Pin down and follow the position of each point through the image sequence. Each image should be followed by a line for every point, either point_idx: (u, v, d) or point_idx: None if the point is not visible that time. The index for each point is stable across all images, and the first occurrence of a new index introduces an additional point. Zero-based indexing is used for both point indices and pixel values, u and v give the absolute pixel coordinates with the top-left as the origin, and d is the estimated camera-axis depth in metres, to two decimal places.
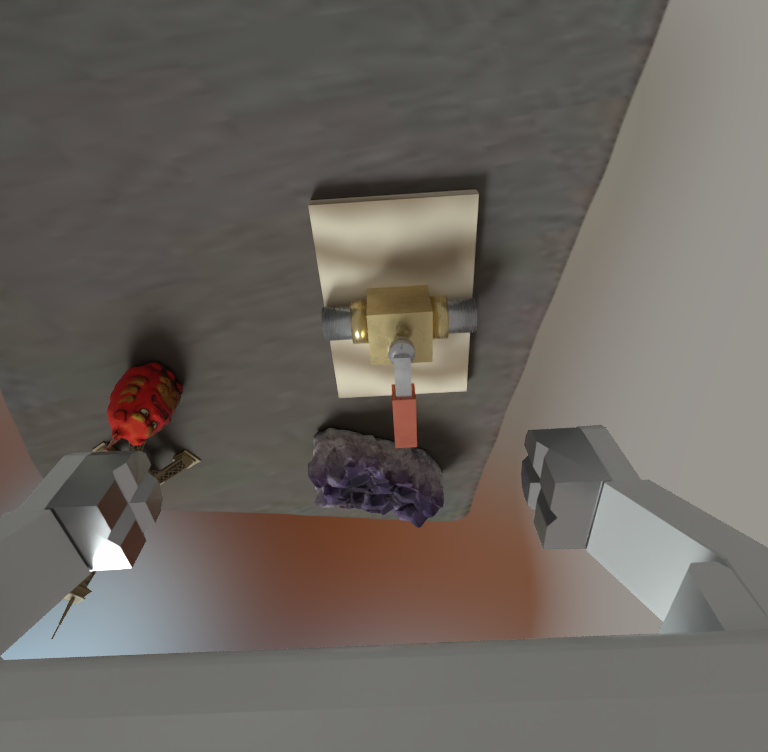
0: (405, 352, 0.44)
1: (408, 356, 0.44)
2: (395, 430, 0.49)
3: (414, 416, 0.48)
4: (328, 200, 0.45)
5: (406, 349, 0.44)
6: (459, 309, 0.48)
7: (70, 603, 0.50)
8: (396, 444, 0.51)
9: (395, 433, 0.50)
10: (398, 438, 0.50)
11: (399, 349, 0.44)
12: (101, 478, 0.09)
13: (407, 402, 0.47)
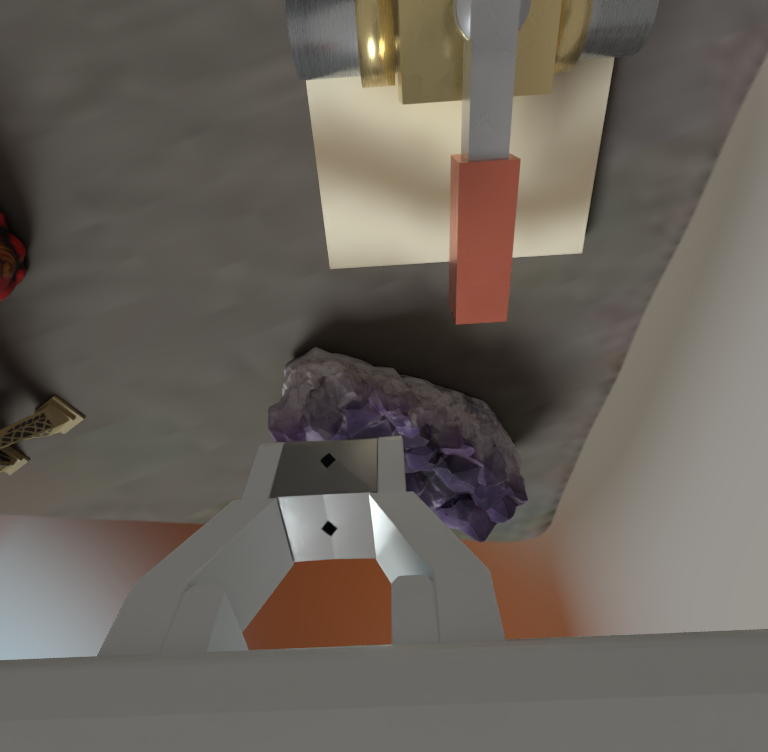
0: None
1: None
2: (460, 267, 0.20)
3: (510, 221, 0.19)
4: None
5: None
6: None
7: None
8: (459, 312, 0.22)
9: (459, 277, 0.21)
10: (465, 294, 0.21)
11: None
12: (312, 467, 0.09)
13: (497, 170, 0.18)
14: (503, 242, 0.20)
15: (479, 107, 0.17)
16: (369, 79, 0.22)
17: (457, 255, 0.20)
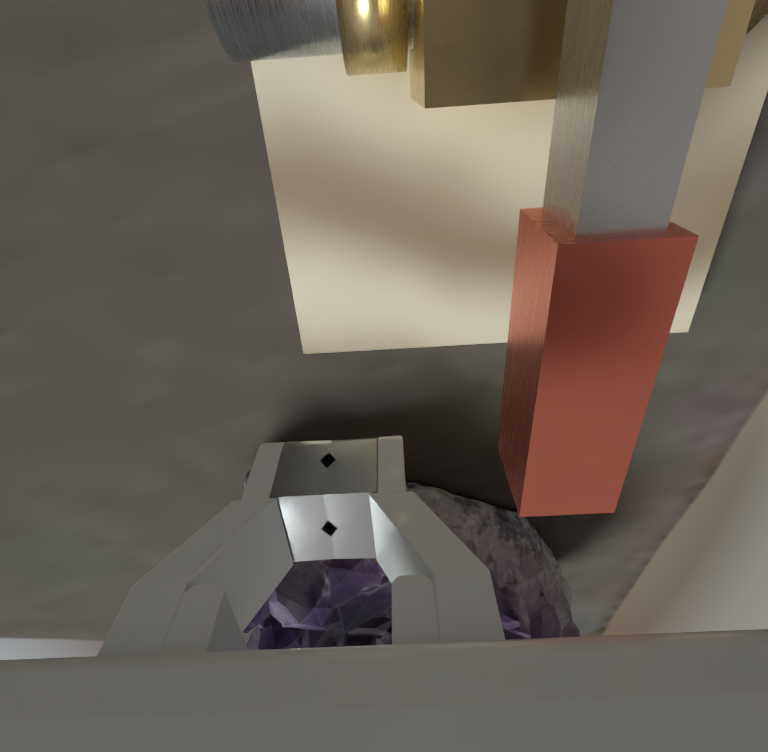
0: None
1: None
2: (537, 433, 0.10)
3: (652, 355, 0.09)
4: None
5: None
6: None
7: None
8: (528, 500, 0.11)
9: (534, 449, 0.11)
10: (542, 473, 0.11)
11: None
12: (312, 467, 0.09)
13: (642, 260, 0.08)
14: (631, 392, 0.10)
15: (617, 119, 0.07)
16: (359, 59, 0.12)
17: (534, 412, 0.10)
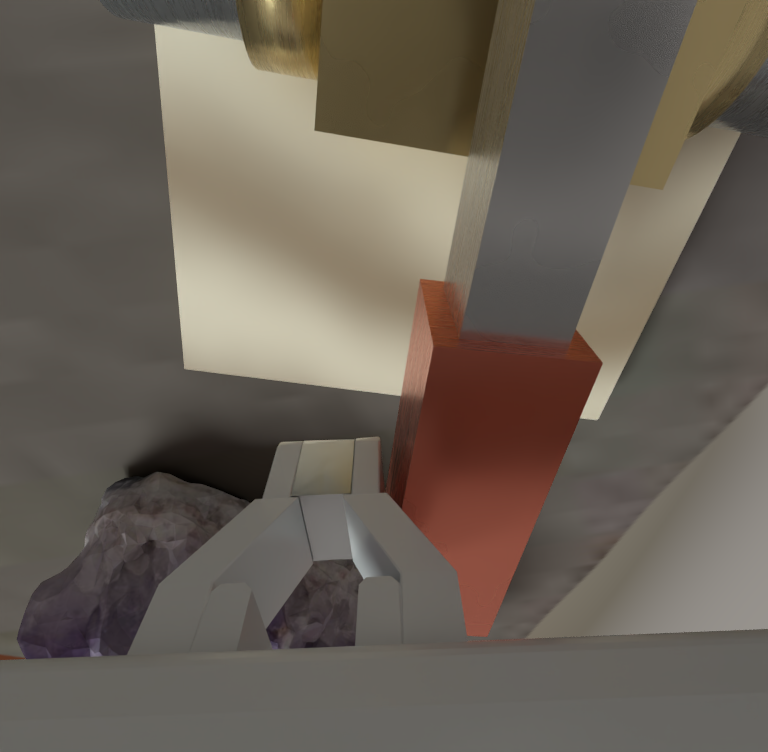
0: None
1: None
2: None
3: (540, 483, 0.08)
4: None
5: None
6: None
7: None
8: None
9: None
10: None
11: None
12: (332, 466, 0.09)
13: (535, 379, 0.07)
14: (512, 519, 0.08)
15: (518, 208, 0.06)
16: (265, 53, 0.10)
17: None
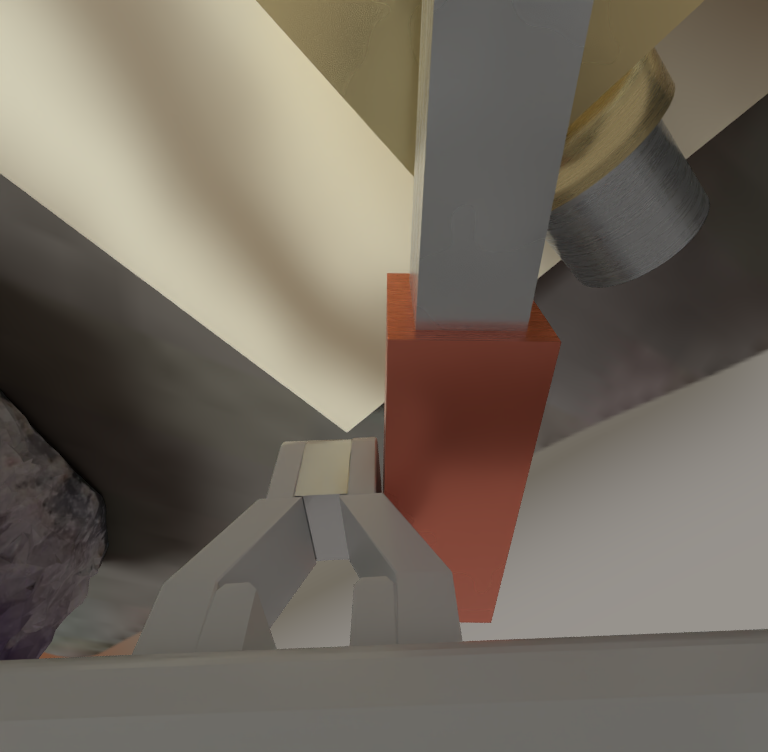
0: None
1: None
2: None
3: (517, 467, 0.08)
4: None
5: None
6: (674, 151, 0.11)
7: None
8: None
9: None
10: None
11: None
12: (336, 466, 0.09)
13: (494, 364, 0.07)
14: (496, 504, 0.08)
15: (452, 195, 0.06)
16: None
17: None
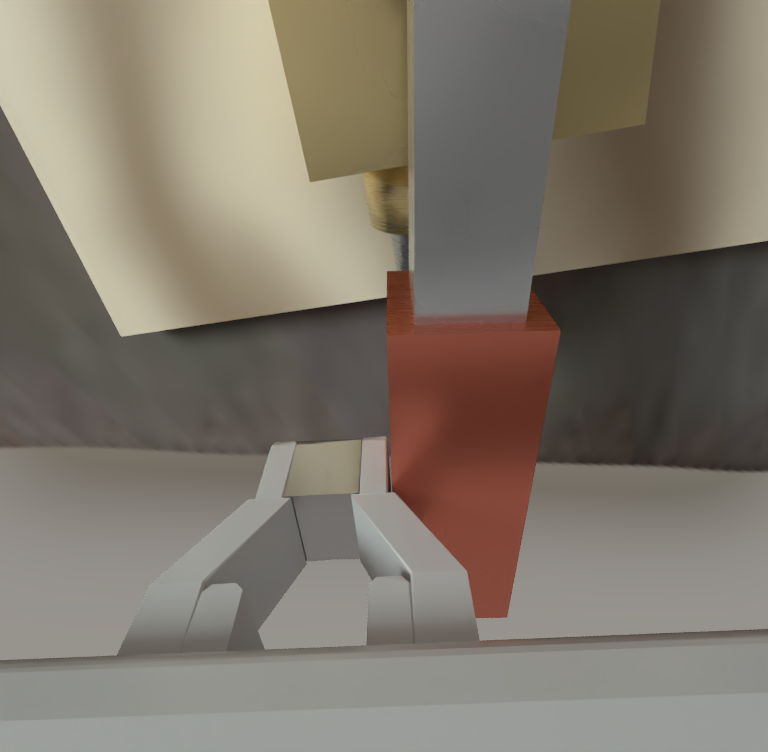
0: None
1: None
2: None
3: (524, 459, 0.08)
4: None
5: None
6: None
7: None
8: None
9: None
10: None
11: None
12: (326, 467, 0.09)
13: (495, 355, 0.07)
14: (504, 497, 0.08)
15: (443, 189, 0.06)
16: None
17: None
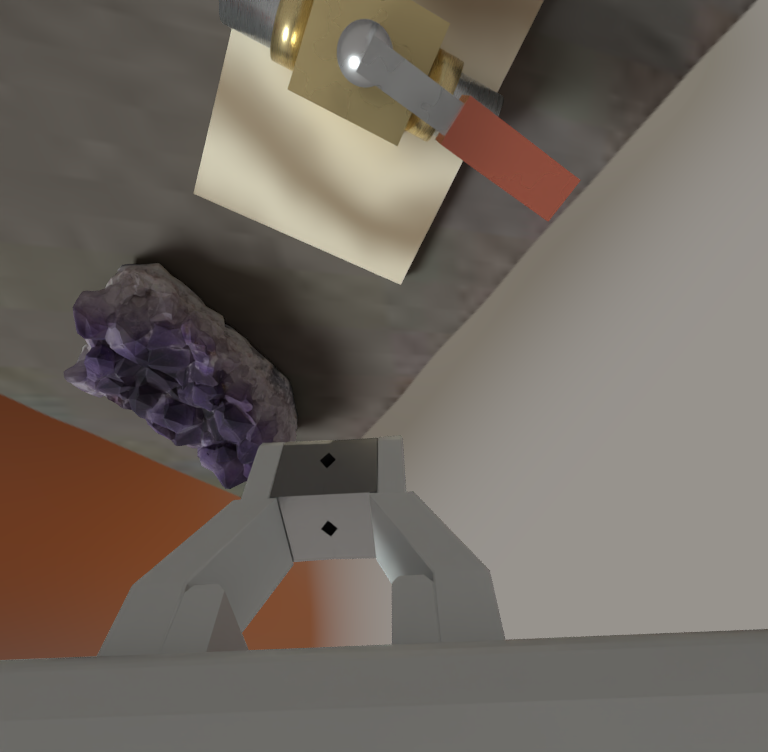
0: (363, 42, 0.21)
1: (371, 40, 0.21)
2: (509, 190, 0.24)
3: (507, 129, 0.22)
4: None
5: (358, 36, 0.21)
6: (476, 87, 0.27)
7: None
8: (541, 212, 0.24)
9: (516, 195, 0.24)
10: (531, 199, 0.24)
11: (350, 49, 0.21)
12: (312, 467, 0.09)
13: (465, 118, 0.22)
14: (518, 145, 0.23)
15: (417, 105, 0.22)
16: (277, 57, 0.26)
17: (499, 186, 0.24)
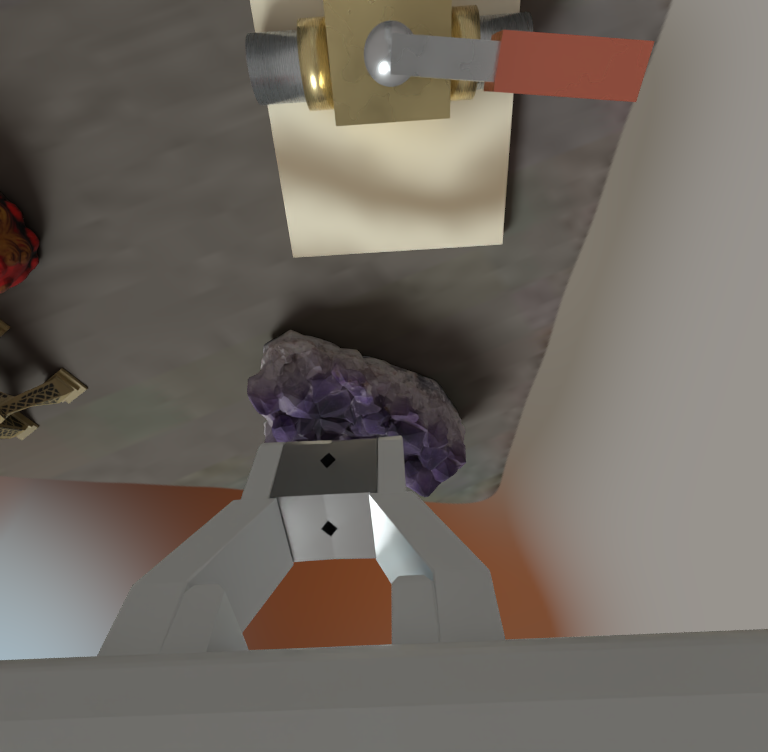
0: (385, 44, 0.22)
1: (391, 39, 0.22)
2: (581, 94, 0.22)
3: (553, 38, 0.21)
4: None
5: (378, 42, 0.22)
6: (499, 20, 0.26)
7: None
8: (624, 97, 0.22)
9: (590, 95, 0.22)
10: (608, 89, 0.22)
11: (376, 58, 0.22)
12: (312, 467, 0.09)
13: (507, 53, 0.21)
14: (571, 46, 0.21)
15: (456, 70, 0.22)
16: (314, 105, 0.28)
17: (569, 96, 0.22)
